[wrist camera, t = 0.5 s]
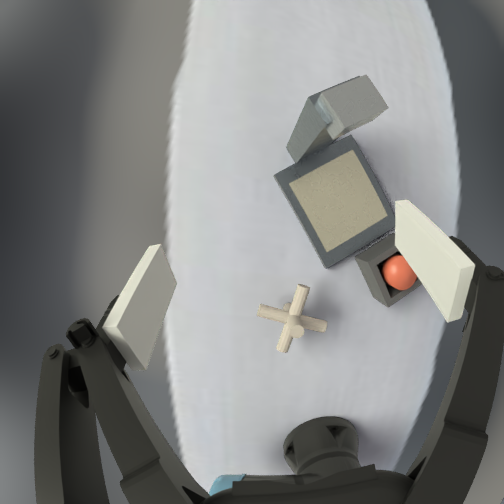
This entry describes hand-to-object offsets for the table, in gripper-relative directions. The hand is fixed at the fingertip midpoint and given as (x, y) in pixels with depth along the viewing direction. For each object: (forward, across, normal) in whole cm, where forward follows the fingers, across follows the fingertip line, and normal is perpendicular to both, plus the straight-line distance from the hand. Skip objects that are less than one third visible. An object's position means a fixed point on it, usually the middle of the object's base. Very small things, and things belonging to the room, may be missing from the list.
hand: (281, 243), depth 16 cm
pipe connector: (+22, +1, +24) cm, 32 cm away
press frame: (+29, -9, +9) cm, 31 cm away
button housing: (+24, -15, +21) cm, 36 cm away
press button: (+20, -16, +19) cm, 32 cm away
